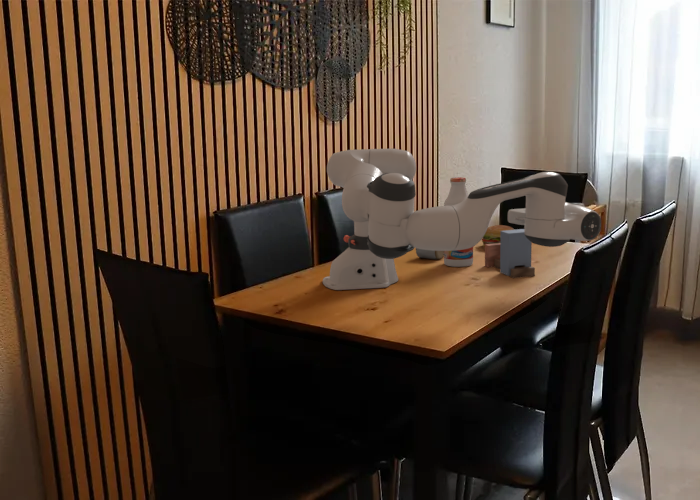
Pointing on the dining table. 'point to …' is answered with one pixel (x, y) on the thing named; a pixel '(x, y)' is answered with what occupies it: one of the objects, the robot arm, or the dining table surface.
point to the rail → (494, 261)
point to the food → (494, 234)
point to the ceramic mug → (429, 254)
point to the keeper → (514, 250)
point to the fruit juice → (455, 197)
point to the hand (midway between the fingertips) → (529, 211)
